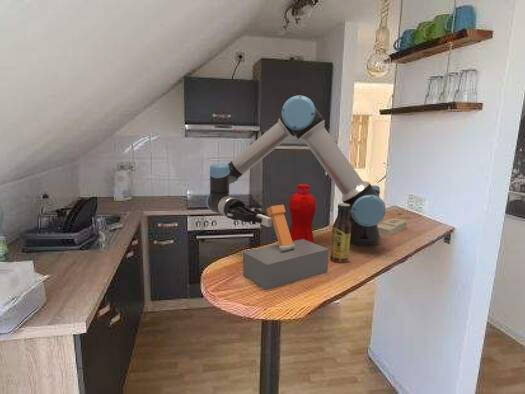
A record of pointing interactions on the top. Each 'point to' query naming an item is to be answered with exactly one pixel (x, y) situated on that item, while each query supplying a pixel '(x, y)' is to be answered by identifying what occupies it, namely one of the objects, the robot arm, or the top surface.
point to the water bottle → (302, 214)
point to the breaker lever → (281, 227)
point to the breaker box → (284, 264)
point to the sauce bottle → (341, 234)
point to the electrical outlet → (391, 226)
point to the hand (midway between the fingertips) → (269, 222)
